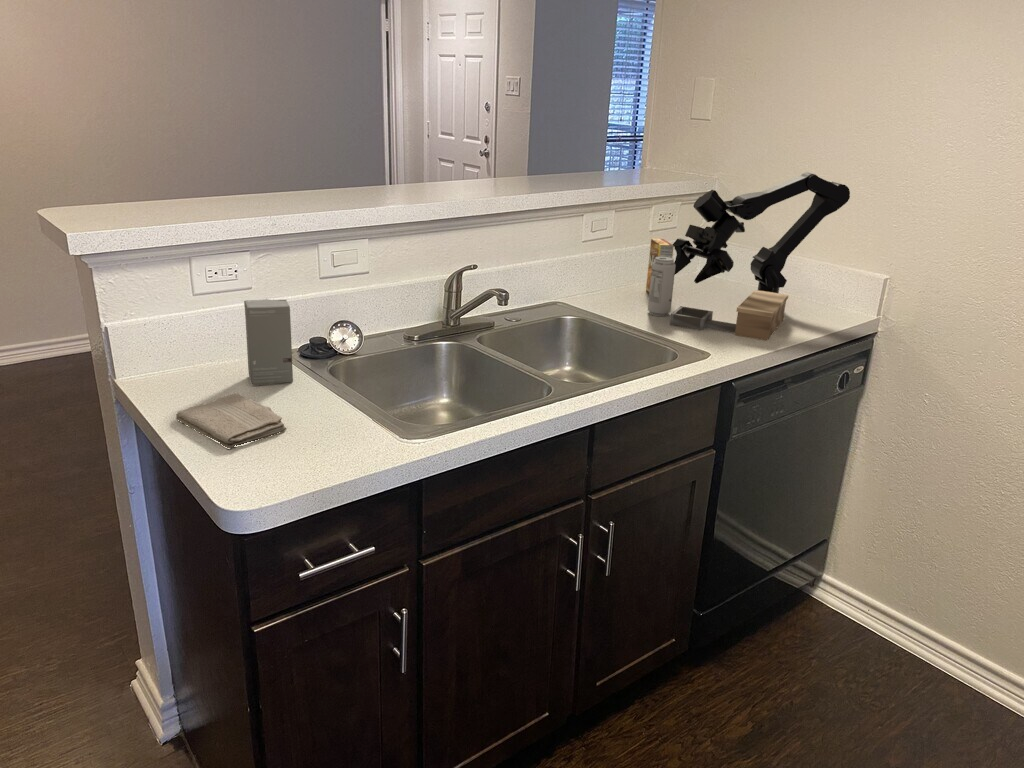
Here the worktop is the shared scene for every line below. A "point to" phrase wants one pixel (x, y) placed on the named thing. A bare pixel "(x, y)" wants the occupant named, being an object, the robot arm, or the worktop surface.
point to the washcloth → (232, 420)
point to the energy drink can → (661, 286)
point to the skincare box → (268, 341)
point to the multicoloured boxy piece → (739, 316)
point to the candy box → (657, 249)
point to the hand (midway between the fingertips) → (683, 278)
